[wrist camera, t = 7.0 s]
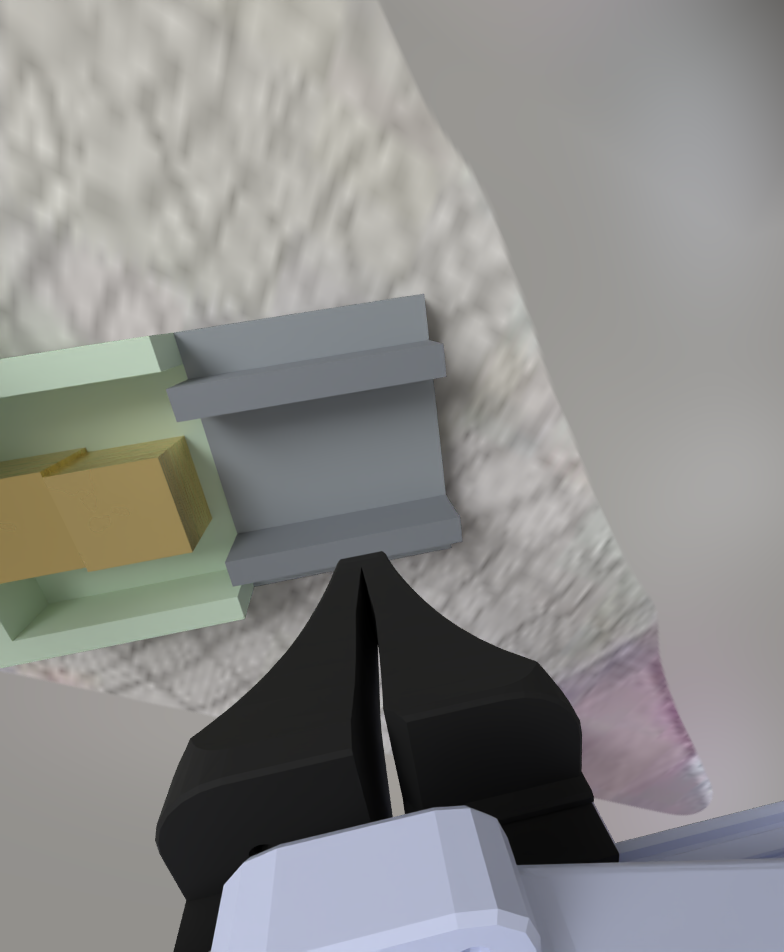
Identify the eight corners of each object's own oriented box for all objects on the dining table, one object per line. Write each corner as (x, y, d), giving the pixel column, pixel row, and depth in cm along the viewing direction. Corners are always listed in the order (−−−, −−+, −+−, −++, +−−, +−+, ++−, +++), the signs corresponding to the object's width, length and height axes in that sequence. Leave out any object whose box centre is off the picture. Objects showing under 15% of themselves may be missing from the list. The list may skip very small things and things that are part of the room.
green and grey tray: (445, 536, 23) (465, 575, 19) (48, 613, 22) (-6, 671, 18) (418, 294, 18) (438, 290, 15) (-85, 373, 17) (-189, 388, 14)
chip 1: (121, 531, 19) (85, 567, 17) (29, 547, 19) (-23, 588, 16) (85, 447, 18) (39, 472, 15) (-16, 464, 18) (-81, 492, 15)
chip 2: (212, 518, 20) (192, 552, 17) (123, 535, 19) (88, 572, 17) (184, 435, 18) (157, 457, 15) (87, 452, 18) (42, 477, 15)
